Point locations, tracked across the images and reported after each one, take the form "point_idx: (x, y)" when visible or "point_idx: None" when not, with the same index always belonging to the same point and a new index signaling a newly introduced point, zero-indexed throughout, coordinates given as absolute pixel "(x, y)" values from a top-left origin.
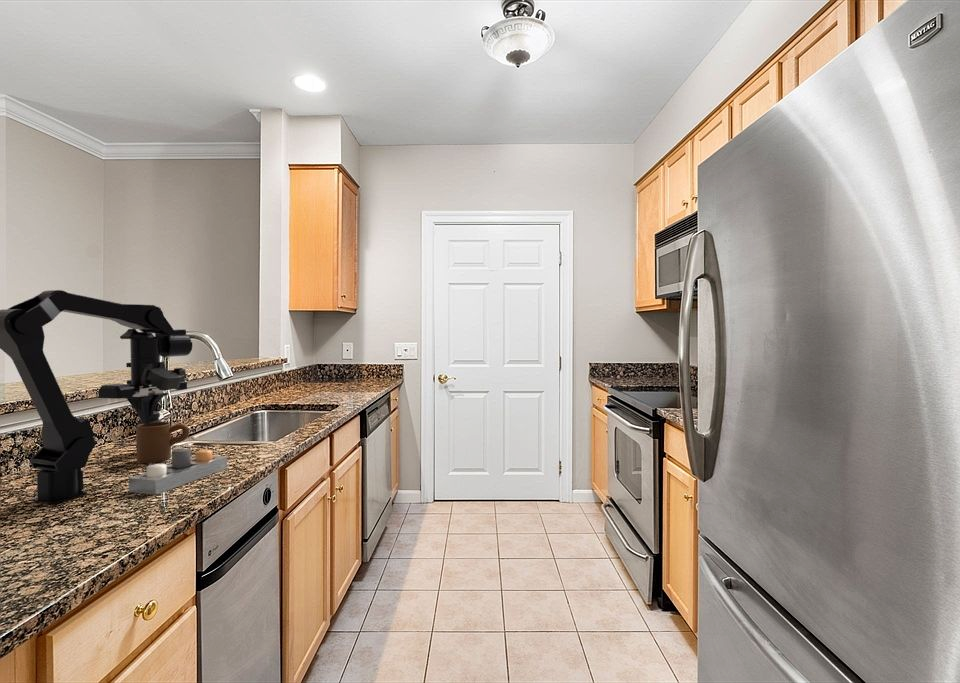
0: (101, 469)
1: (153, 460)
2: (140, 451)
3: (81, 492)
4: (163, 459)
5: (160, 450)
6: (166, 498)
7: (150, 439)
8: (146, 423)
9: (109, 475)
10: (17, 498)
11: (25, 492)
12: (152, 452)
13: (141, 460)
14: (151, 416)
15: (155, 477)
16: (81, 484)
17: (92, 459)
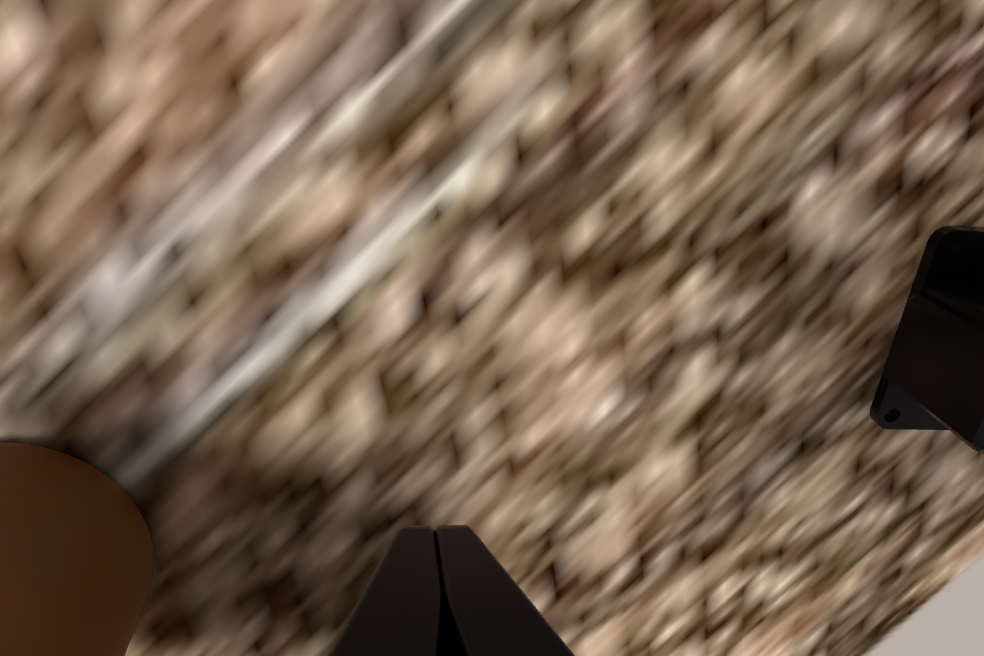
0: None
1: (102, 478)
2: (130, 621)
3: (957, 260)
4: (18, 444)
5: (7, 506)
6: None
7: (36, 648)
8: (472, 531)
9: (493, 482)
10: (952, 547)
11: (851, 604)
12: (81, 531)
13: (151, 555)
14: (380, 608)
15: None
16: (956, 309)
17: None
